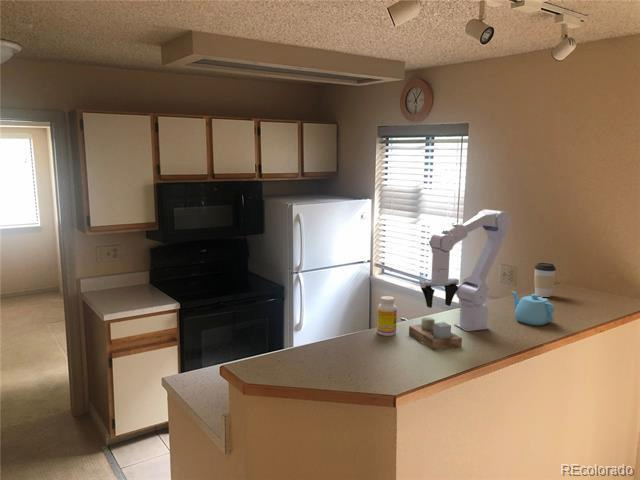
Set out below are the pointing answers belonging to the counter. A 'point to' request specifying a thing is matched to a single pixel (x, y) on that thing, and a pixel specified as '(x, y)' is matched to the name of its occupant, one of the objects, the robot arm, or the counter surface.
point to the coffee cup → (544, 279)
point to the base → (426, 336)
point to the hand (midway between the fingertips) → (438, 306)
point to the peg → (442, 330)
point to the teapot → (533, 309)
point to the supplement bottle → (387, 316)
